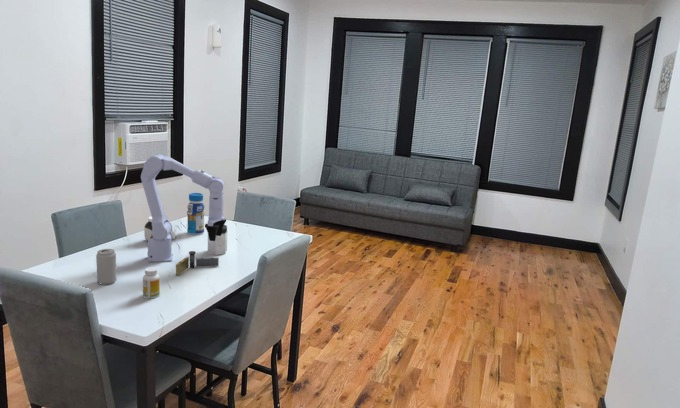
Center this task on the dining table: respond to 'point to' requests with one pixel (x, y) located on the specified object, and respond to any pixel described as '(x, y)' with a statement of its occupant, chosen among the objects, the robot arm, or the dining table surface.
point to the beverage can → (106, 266)
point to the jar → (218, 243)
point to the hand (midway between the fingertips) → (215, 238)
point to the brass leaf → (182, 266)
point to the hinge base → (202, 261)
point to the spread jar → (149, 230)
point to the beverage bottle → (195, 214)
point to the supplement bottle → (151, 283)
